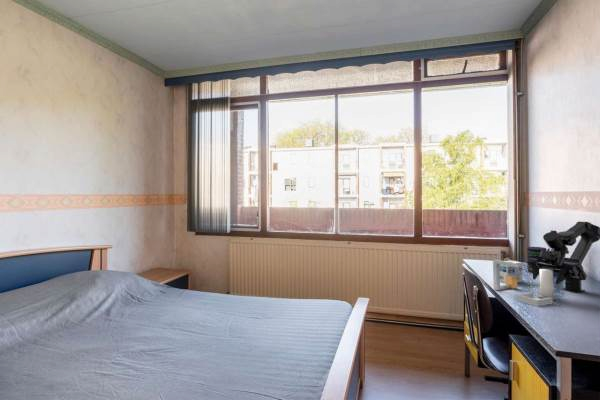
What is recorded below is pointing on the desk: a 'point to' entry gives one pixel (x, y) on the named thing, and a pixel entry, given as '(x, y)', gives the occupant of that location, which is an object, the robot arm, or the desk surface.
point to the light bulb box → (511, 271)
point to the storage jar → (535, 256)
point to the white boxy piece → (510, 280)
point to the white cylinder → (546, 284)
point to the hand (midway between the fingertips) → (544, 281)
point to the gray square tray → (533, 299)
